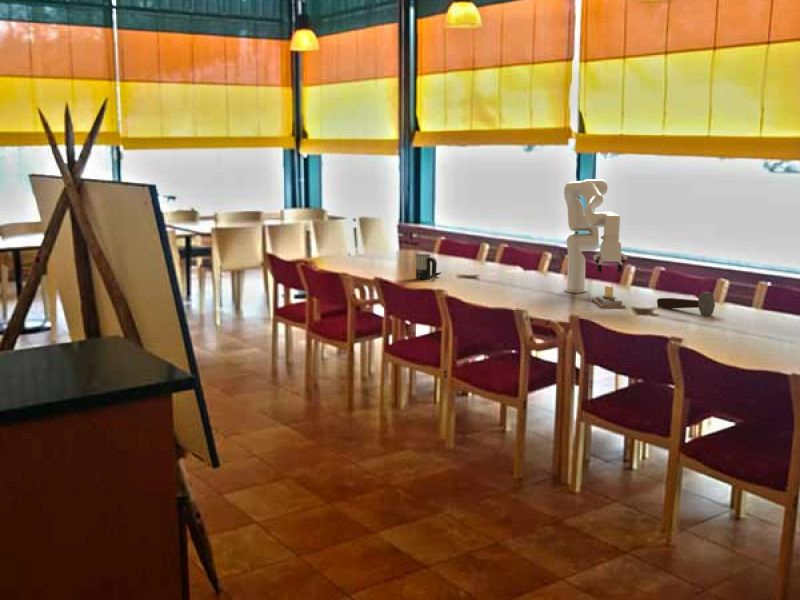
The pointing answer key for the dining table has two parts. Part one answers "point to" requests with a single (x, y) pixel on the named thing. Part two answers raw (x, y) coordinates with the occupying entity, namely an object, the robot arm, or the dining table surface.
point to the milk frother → (425, 266)
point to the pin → (608, 292)
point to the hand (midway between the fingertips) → (609, 272)
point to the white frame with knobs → (608, 302)
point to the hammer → (690, 303)
